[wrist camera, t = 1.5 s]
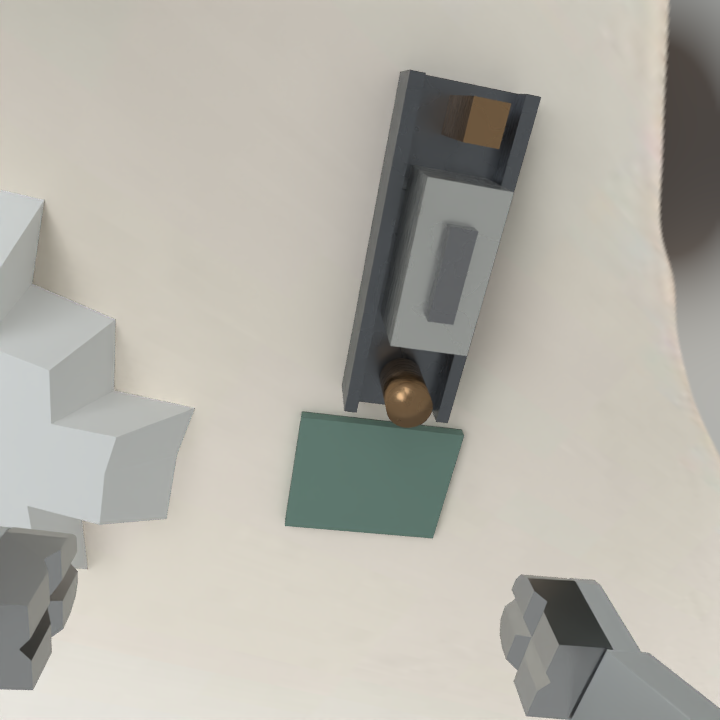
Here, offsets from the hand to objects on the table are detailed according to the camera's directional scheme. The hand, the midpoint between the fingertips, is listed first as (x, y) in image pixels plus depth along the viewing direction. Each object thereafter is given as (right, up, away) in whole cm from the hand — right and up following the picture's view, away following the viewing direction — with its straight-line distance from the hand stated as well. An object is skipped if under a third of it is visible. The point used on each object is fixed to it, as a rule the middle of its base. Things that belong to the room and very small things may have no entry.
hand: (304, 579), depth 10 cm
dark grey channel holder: (+5, +11, +25) cm, 28 cm away
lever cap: (+5, +11, +23) cm, 26 cm away
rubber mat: (+2, -5, +33) cm, 33 cm away
